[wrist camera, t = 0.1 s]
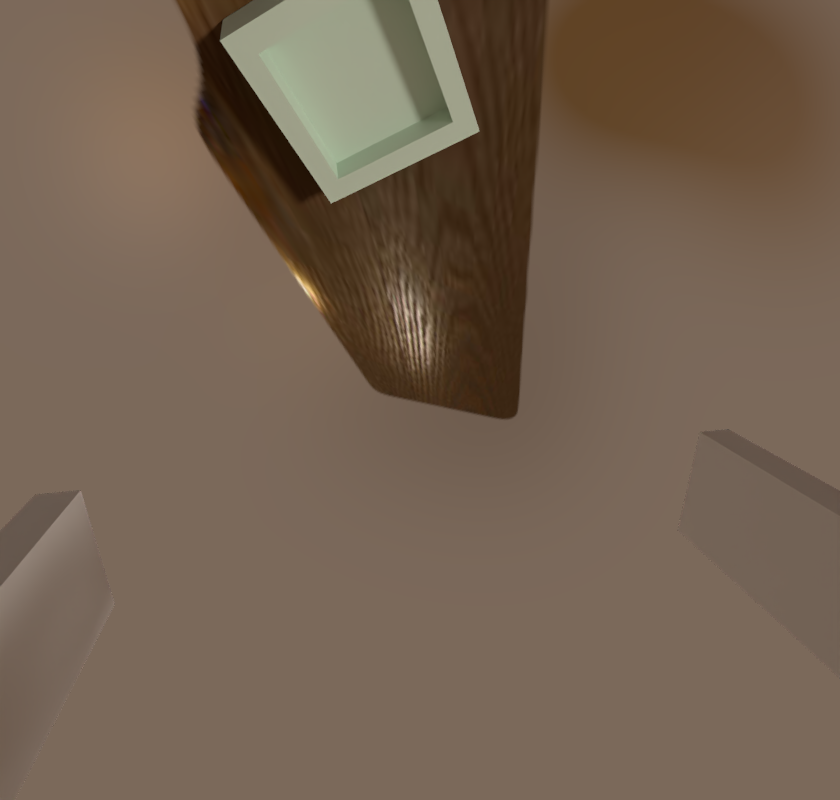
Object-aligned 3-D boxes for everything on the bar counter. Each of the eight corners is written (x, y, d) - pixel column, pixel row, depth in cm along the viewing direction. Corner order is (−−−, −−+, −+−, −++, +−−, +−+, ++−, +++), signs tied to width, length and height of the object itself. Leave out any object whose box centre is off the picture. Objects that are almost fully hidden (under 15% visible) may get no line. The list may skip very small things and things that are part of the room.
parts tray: (222, 19, 32) (219, 40, 30) (405, -96, 29) (412, -80, 27) (329, 181, 42) (331, 203, 41) (471, 110, 39) (479, 131, 38)
